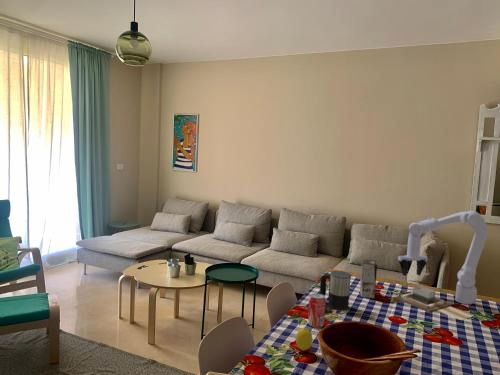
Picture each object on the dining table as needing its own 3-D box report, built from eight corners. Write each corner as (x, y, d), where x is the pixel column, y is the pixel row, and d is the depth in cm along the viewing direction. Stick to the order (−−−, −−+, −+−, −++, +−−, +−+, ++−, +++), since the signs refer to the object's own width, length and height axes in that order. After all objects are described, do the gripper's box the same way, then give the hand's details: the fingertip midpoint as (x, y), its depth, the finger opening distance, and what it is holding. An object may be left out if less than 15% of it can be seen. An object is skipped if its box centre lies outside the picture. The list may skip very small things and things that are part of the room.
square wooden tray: (416, 295, 196) (416, 289, 196) (451, 308, 181) (452, 301, 181) (393, 301, 186) (393, 295, 186) (429, 315, 171) (429, 308, 171)
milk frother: (350, 304, 179) (352, 272, 178) (346, 317, 164) (349, 282, 163) (318, 299, 184) (320, 267, 183) (312, 311, 169) (314, 277, 168)
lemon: (293, 346, 137) (295, 324, 137) (309, 346, 138) (310, 324, 137) (296, 354, 132) (298, 331, 131) (313, 354, 132) (314, 331, 132)
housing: (418, 296, 188) (419, 285, 187) (434, 302, 181) (435, 291, 181) (412, 298, 185) (413, 287, 184) (428, 304, 178) (429, 292, 178)
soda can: (314, 329, 151) (316, 299, 150) (304, 323, 157) (306, 293, 156) (327, 327, 154) (329, 297, 153) (317, 320, 160) (319, 291, 159)
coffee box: (375, 298, 188) (377, 265, 187) (360, 296, 190) (363, 263, 188) (373, 292, 197) (375, 260, 196) (359, 290, 199) (362, 259, 197)
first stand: (449, 309, 179) (450, 306, 179) (474, 318, 170) (475, 315, 170) (436, 314, 173) (436, 310, 173) (461, 323, 164) (461, 320, 164)
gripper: (404, 249, 187) (402, 277, 188) (432, 249, 190) (429, 277, 191) (396, 246, 194) (394, 273, 195) (423, 246, 197) (421, 273, 198)
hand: (411, 275), depth 193 cm, fingers open, 7 cm apart
